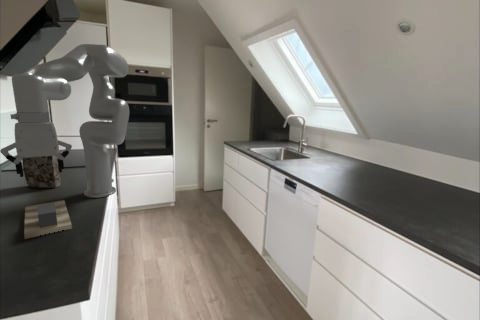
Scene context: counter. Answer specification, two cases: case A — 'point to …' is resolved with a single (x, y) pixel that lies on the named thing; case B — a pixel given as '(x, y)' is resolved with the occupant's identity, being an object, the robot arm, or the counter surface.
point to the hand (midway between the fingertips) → (41, 173)
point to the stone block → (42, 172)
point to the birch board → (33, 222)
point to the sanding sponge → (47, 216)
